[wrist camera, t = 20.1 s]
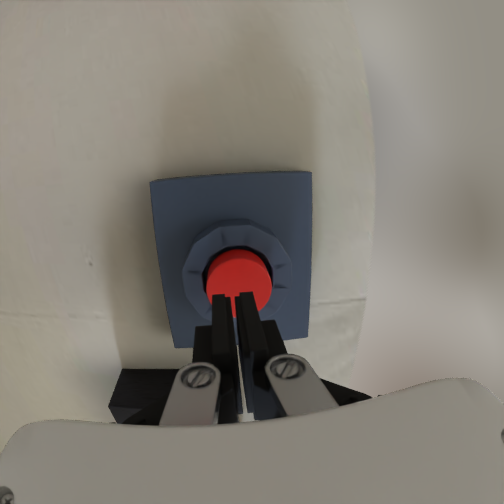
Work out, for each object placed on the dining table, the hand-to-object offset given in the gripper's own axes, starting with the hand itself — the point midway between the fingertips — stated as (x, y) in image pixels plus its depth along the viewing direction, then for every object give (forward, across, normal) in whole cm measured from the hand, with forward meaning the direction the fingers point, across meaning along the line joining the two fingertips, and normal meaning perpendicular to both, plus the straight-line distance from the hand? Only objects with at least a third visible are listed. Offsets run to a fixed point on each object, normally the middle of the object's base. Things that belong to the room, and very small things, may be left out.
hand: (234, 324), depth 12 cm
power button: (+6, -1, 0) cm, 6 cm away
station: (+9, -1, 0) cm, 9 cm away
